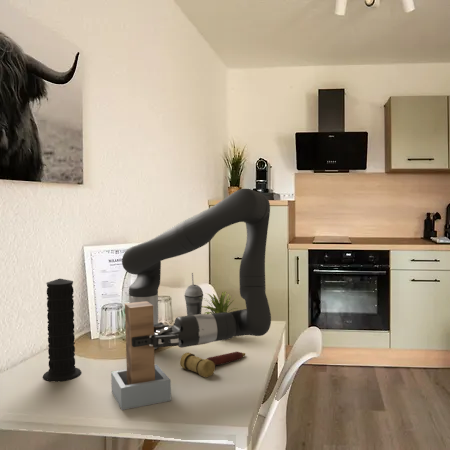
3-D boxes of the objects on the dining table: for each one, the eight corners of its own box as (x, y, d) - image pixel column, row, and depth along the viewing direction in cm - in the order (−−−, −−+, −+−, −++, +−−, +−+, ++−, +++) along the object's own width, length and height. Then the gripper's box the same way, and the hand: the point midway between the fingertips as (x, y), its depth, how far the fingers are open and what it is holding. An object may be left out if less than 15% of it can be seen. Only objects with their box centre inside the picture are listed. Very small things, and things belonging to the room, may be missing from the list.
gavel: (233, 343, 145) (257, 350, 138) (233, 357, 145) (256, 365, 138) (179, 353, 131) (202, 362, 124) (179, 370, 131) (202, 379, 124)
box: (111, 391, 116) (111, 371, 115) (157, 383, 120) (156, 364, 120) (121, 410, 105) (121, 388, 105) (170, 400, 110) (170, 379, 110)
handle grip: (88, 374, 127) (71, 365, 135) (86, 278, 126) (68, 274, 133) (52, 384, 120) (36, 374, 128) (49, 282, 119) (33, 278, 126)
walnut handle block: (127, 384, 114) (124, 303, 113) (149, 380, 116) (147, 301, 115) (132, 392, 109) (129, 307, 108) (155, 388, 111) (153, 305, 110)
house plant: (203, 330, 171) (203, 286, 170) (241, 331, 169) (240, 286, 168) (195, 341, 157) (195, 293, 156) (236, 343, 155) (236, 294, 154)
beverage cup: (189, 328, 173) (188, 275, 172) (181, 324, 180) (181, 272, 179) (207, 326, 176) (206, 273, 176) (199, 322, 183) (198, 271, 182)
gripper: (185, 309, 124) (122, 317, 117) (205, 321, 111) (135, 330, 104) (186, 337, 125) (122, 346, 118) (206, 352, 112) (136, 363, 105)
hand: (129, 338), depth 111 cm, fingers closed on walnut handle block, 5 cm apart
